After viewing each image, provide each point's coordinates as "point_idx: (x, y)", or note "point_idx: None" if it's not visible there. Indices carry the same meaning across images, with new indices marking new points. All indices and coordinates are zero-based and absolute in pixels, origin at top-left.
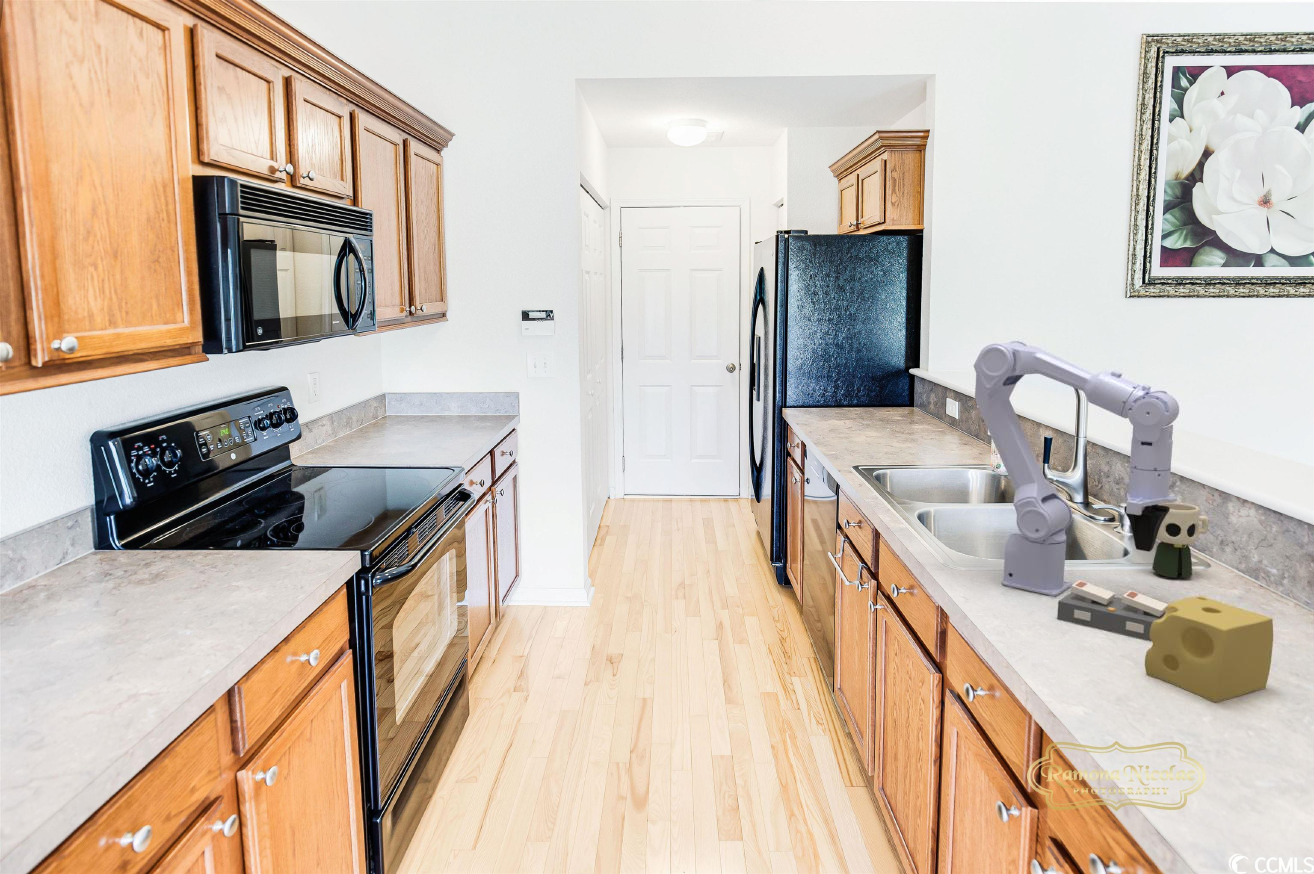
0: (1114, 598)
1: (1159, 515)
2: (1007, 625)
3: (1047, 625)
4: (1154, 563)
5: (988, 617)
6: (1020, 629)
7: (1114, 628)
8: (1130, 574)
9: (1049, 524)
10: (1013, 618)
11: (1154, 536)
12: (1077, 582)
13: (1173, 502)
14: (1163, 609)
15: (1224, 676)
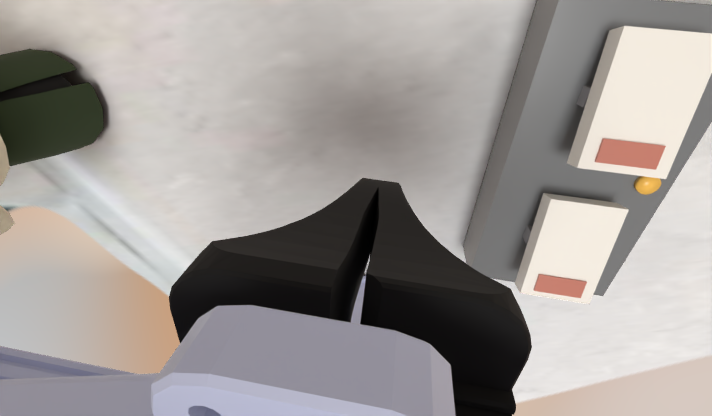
0: (513, 190)
1: (517, 310)
2: (667, 330)
3: (638, 273)
4: (73, 148)
5: (623, 358)
6: (688, 310)
7: None
8: (145, 182)
9: None
10: (611, 326)
11: (396, 208)
12: (547, 295)
13: (426, 348)
14: (688, 32)
15: None
